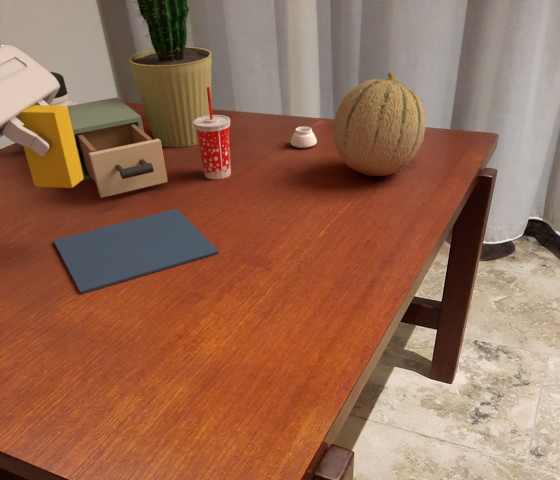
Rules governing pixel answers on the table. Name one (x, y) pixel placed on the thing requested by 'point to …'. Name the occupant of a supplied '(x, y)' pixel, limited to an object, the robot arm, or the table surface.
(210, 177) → the beverage cup
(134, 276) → the mat
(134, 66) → the potted cactus
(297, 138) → the white jar
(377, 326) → the table surface
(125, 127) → the drawer
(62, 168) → the sponge
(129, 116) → the cabinet
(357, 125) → the cantaloupe
